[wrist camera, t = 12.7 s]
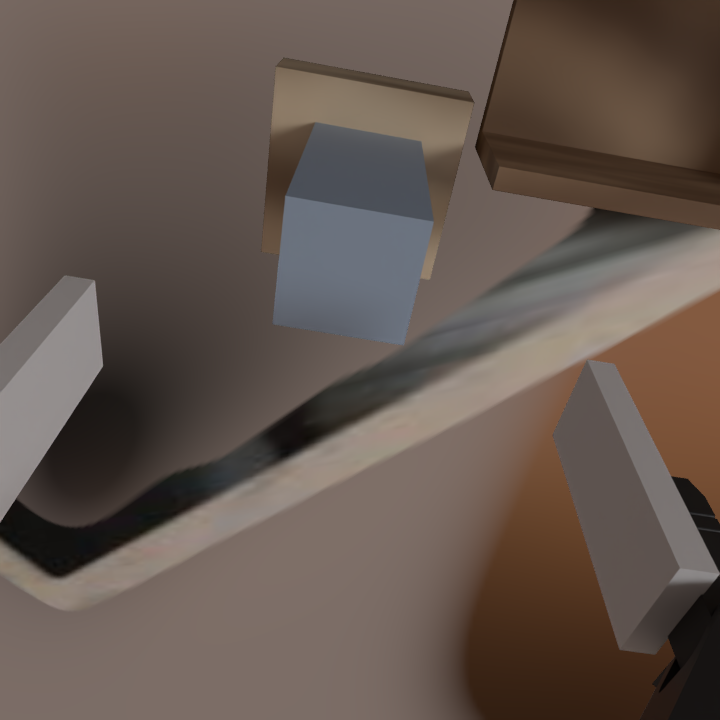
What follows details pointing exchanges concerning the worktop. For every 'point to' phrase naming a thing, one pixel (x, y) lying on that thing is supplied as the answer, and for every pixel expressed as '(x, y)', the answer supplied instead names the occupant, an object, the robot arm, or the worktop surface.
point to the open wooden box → (609, 107)
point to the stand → (367, 113)
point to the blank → (354, 235)
